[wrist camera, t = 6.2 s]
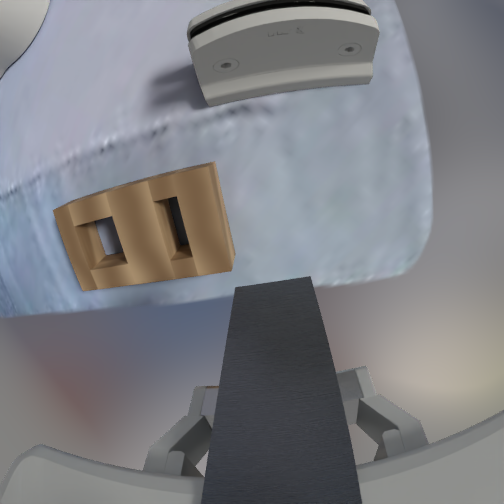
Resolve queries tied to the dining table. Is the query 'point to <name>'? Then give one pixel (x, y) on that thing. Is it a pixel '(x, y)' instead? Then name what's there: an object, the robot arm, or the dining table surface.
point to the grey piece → (281, 47)
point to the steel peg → (279, 406)
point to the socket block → (150, 230)
